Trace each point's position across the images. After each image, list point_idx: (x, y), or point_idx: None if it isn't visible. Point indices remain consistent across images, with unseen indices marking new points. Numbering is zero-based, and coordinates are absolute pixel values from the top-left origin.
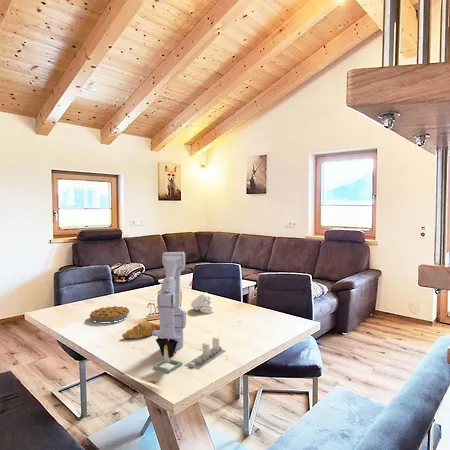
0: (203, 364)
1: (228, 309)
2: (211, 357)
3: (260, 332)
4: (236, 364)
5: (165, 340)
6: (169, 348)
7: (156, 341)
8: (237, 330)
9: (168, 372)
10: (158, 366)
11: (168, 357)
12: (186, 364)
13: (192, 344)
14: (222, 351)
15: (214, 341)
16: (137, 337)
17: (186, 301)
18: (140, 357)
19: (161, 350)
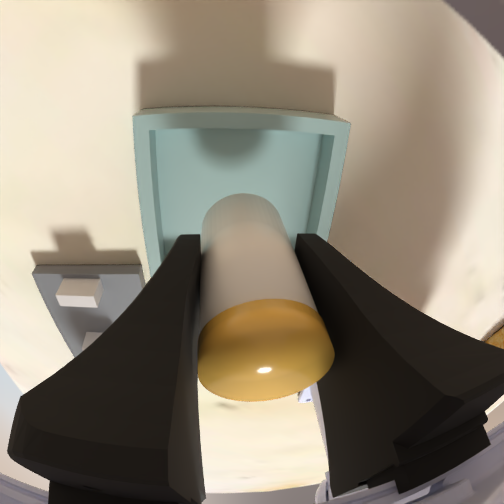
0: (65, 327)
1: (306, 479)
2: None
3: None
4: (15, 368)
5: (347, 438)
6: (125, 328)
7: (494, 350)
8: (216, 468)
9: (144, 112)
10: (291, 127)
11: (210, 237)
12: (136, 290)
13: (290, 411)
14: None
15: None
16: (499, 333)
17: None
18: (475, 230)
19: (341, 269)
